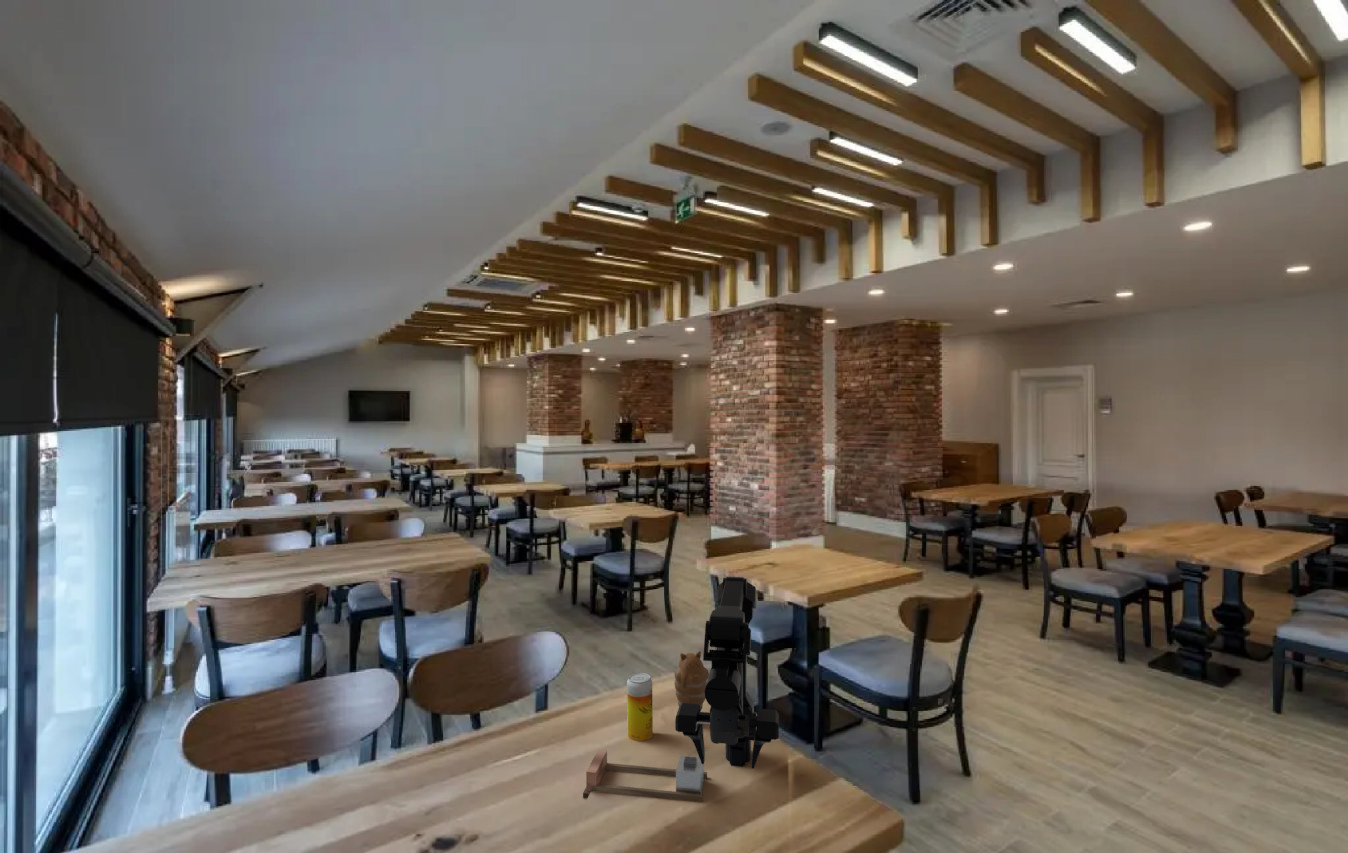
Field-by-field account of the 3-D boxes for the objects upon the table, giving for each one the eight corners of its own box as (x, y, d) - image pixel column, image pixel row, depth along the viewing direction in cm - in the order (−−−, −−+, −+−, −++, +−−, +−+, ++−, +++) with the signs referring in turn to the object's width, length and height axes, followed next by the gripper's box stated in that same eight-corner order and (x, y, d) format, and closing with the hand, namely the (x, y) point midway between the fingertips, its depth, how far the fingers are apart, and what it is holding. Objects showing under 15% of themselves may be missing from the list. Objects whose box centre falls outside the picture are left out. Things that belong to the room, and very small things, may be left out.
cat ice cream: (678, 731, 154) (677, 659, 153) (670, 716, 161) (670, 647, 161) (712, 727, 156) (712, 655, 155) (703, 712, 163) (703, 644, 163)
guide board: (597, 769, 138) (596, 747, 138) (709, 780, 134) (709, 757, 133) (583, 797, 128) (582, 773, 128) (704, 810, 124) (704, 785, 123)
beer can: (652, 745, 147) (651, 683, 147) (626, 745, 147) (625, 683, 147) (653, 732, 153) (652, 672, 153) (628, 732, 154) (628, 672, 153)
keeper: (680, 778, 133) (680, 751, 132) (704, 780, 132) (703, 753, 131) (676, 795, 127) (675, 767, 126) (700, 797, 126) (700, 769, 126)
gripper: (669, 700, 108) (670, 787, 109) (778, 708, 105) (778, 798, 106) (679, 672, 119) (680, 751, 120) (778, 678, 116) (778, 759, 117)
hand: (727, 765), depth 116 cm, fingers open, 9 cm apart
